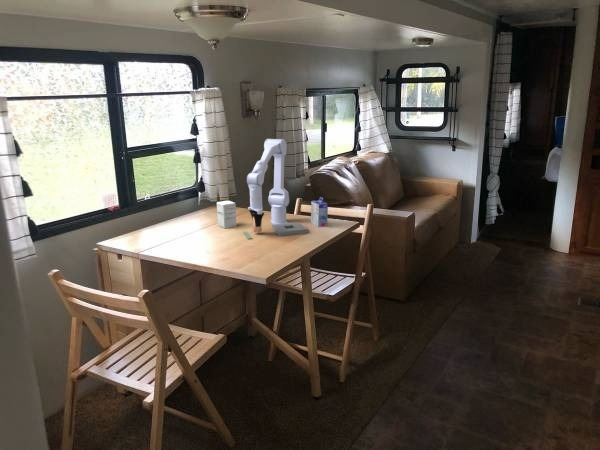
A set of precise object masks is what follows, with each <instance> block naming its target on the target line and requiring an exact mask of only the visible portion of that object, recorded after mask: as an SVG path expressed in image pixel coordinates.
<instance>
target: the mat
mask: <svg viewBox="0 0 600 450" xmlns="http://www.w3.org/2000/svg"><path fill="white" fill-rule="evenodd" d="M242 233H243V235H244V236H245V238H246V239H247V240H253V237H252V236H251V235H250V234H249V232H248V231H246V230H245V231H242Z"/></svg>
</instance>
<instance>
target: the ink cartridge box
mask: <svg viewBox="0 0 600 450" xmlns="http://www.w3.org/2000/svg"><path fill="white" fill-rule="evenodd" d="M323 200H324V197H322V196H320V197H319V199H318V200H311V201H310V202H311V208H310V209H311V211H310V223H311V225H314V226H315V227H316V228H317V227H318V228H320V227H321V228H322V227H324V228H325V227H328V222H329V221H328V219H329V217H328V213H329V212H328V209H329V206H328V205H329V203H327V202H324V201H323Z"/></svg>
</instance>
